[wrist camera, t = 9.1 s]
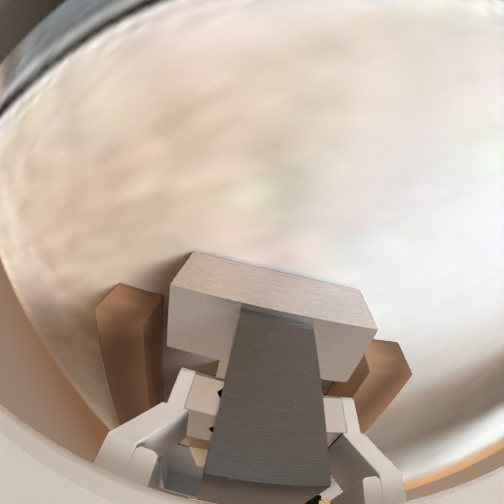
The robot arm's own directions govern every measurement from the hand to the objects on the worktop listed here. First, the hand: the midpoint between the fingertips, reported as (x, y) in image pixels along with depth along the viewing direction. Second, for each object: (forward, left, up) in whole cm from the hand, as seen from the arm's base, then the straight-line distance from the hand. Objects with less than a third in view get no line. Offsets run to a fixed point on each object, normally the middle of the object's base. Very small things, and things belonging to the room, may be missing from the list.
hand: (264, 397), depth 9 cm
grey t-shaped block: (0, 0, -7) cm, 7 cm away
